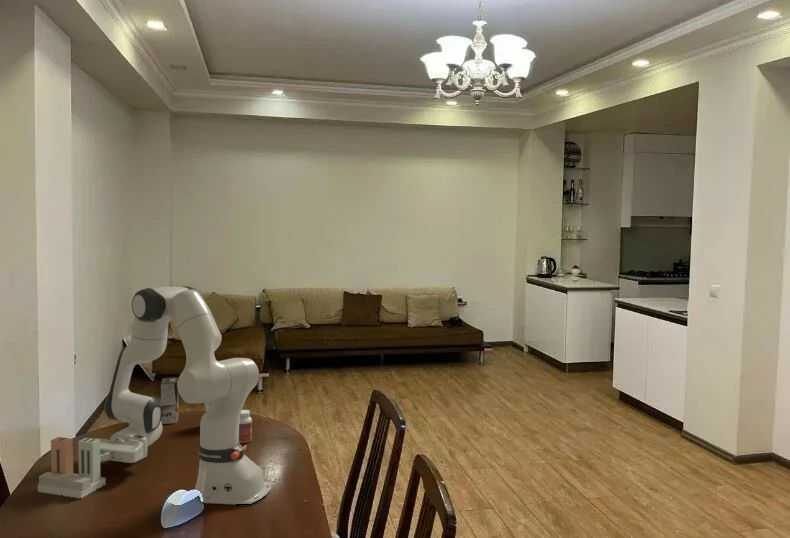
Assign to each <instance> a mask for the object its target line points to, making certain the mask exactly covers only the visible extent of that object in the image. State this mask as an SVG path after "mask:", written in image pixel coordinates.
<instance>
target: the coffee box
mask: <svg viewBox="0 0 790 538" xmlns="http://www.w3.org/2000/svg"><path fill="white" fill-rule="evenodd" d="M178 379H179V377H178V376H177V377H176V376H175V377H163V378H161V381H160V405H161V409H162V417H161V423H162V425H166V424H177V423H178V421H179V392H178V387H177V384H178Z"/></svg>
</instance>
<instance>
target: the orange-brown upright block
mask: <svg viewBox="0 0 790 538" xmlns="http://www.w3.org/2000/svg"><path fill="white" fill-rule="evenodd" d="M73 440H74V439H73V438H69V437H61V436H58V437H55V438H53V439H50V460H51V462H50V463H51V464H50V465H51V471H50V472H52V473H58V474H65V475H72V476H73V473H74V447H73V446H74V445H73V443H74V442H73Z"/></svg>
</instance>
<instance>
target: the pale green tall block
mask: <svg viewBox="0 0 790 538" xmlns="http://www.w3.org/2000/svg"><path fill="white" fill-rule="evenodd" d="M78 450H79V454H78V474H79V477H85V478H91V482H93V483H94V482H95V481H97V480H99V479H100V477H101V462H100V440H98V439H96V438H89V437H84V438H82V439H79V440H78V446H77V451H78Z"/></svg>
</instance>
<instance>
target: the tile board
mask: <svg viewBox="0 0 790 538" xmlns="http://www.w3.org/2000/svg"><path fill="white" fill-rule="evenodd" d="M106 479H107V478H106V477H101V476H100V479H99V480H97V481H95V482H94V483H93V482H91V478H85V477H79V473H74V472H73V476H72V475H65V474H58V473H52V472H51V471H47V472H44V473H42V474H40V475H39V476H38V484H37V492H38V493H42V494H49V495H56V496H61V495H63V496H62V497H68V496H69V498H74V497H75V498H74V499H80V498H82V499H83V497H84V496H85V497H87V496H89V495H90V494H92V493H93V491H94V492H95V491H97V490H98V488H99V489H100V488H102V487H104V486H105V485H106V482H107V481H106ZM103 485H104V486H103ZM96 489H97V490H96ZM91 492H92V493H91ZM89 493H90V494H89ZM88 494H89V495H88ZM86 495H87V496H86ZM85 497H84V498H85Z"/></svg>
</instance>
